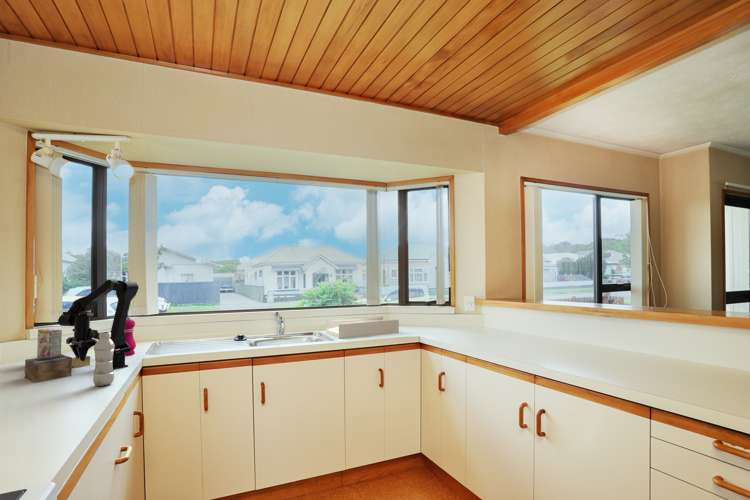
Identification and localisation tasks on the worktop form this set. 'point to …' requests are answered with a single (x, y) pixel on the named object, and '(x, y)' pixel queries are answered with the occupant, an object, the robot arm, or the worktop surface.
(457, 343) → the worktop surface
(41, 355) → the candy bar box
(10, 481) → the worktop surface
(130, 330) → the pepper mill
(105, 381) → the plastic bottle
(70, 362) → the box
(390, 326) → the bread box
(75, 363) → the olive yellow block
